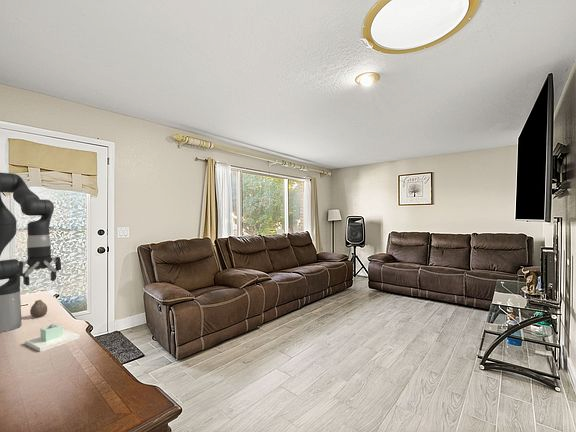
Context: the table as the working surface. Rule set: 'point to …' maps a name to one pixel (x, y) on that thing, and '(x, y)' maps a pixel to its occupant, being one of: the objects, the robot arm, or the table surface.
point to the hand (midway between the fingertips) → (40, 283)
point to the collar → (51, 332)
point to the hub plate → (44, 345)
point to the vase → (38, 309)
